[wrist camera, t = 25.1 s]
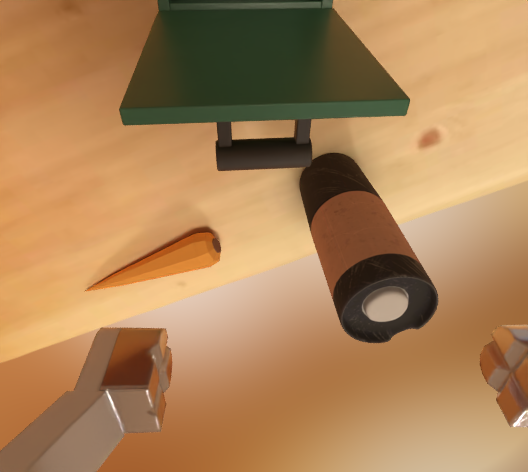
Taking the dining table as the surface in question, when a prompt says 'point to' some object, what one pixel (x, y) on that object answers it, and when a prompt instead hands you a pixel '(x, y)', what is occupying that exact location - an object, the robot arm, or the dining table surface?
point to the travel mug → (364, 253)
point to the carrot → (169, 261)
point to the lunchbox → (241, 4)
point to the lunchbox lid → (257, 79)
